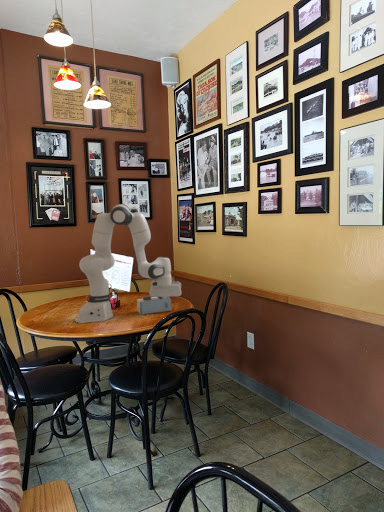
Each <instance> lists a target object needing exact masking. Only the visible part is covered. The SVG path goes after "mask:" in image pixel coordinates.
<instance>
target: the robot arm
mask: <svg viewBox="0 0 384 512" xmlns="http://www.w3.org/2000/svg"><path fill="white" fill-rule="evenodd" d="M115 225H117V226H118V225H119V226H127V227H128V228H129V230H130V235H131V236H132V244H133V245H132V246H133V252H134V256H135V260H136V273H137V275H138V277H139V278H141V279H149V280H150V279H151V280H152V281H151V282H150V287H149V292H148V293H149V295H148V296H150V297H162V299H164V297H167V298H168V299H169V298H170V297H180V296H181V295H182V283H181V282H180V281H178V280H177V281H172V273H171V272H172V265H171V264H172V263H171V260H170V258H169V257H167V256H158V257H157V258H156V259H155V260H154V261H152V262H148V260H147V257H146V256H147V255H146V253H145V246H146V245H147V244H149V242H150V241H151V236H152V234H151V230H150V227H149V224H148V221H147V219H146V218H145V215H144V214H143V213H142V212H138V211H137V212H136V211H135V212H132V211H131V210H130V207H129V206H127V204H124V203H118V204H116V205H114V206H113V207H112V208H111V210H110V212H108V213H107V212H102V213H98V215H97V216H96V218H95V222H94V225H93V231H92V238H91V244H92V246H93V247H94V254H88V255H86V256H84V257H82V258H81V259H80V261H79V264H78V266H79V268H80V271H81V272H82V273H83V274H85V276H86V278H87V281H88V283H89V292H90V293H89V295H86V296H85V299H86V300H87V302H86V303H85V304H83V305H82V306H81V307H80V308H79V310H78V316H76V317H75V318H74V321H76V322H75V323H77V322H78V323H77V324H84V323H85V324H86V323H94V322H104V321H107V320H110V319H111V318H113V317H114V313H113V310H112V307H111V294H110V287H109V280H108V279H107V278H105V276H104V273H103V272H104V271H107V270H109V269H112V268H113V267H114V265H115V263H116V262H115V260H116V259H115V257H114V255H113V254H112V249H111V246H112V245H111V244H112V238H113V231H114V227H115Z"/></svg>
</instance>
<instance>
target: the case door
mask: <svg viewBox="0 0 384 512" xmlns="http://www.w3.org/2000/svg"><path fill="white" fill-rule="evenodd" d="M171 299H172V298H169V299H161V300H152V301H144V302H140V311H141V314H140V315H146V314H154V313H162V312H168V311H172V300H171Z"/></svg>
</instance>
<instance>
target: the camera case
mask: <svg viewBox="0 0 384 512" xmlns="http://www.w3.org/2000/svg"><path fill="white" fill-rule="evenodd" d="M152 300H160V299H159V298H158V297H150V296H149V295H147V296H146V295H145V296H142V298H137V299H136V302H137V304H136V306H137V312H138V313H139V314H140V315H142V314H141V311H140V302H144V301H152Z"/></svg>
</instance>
